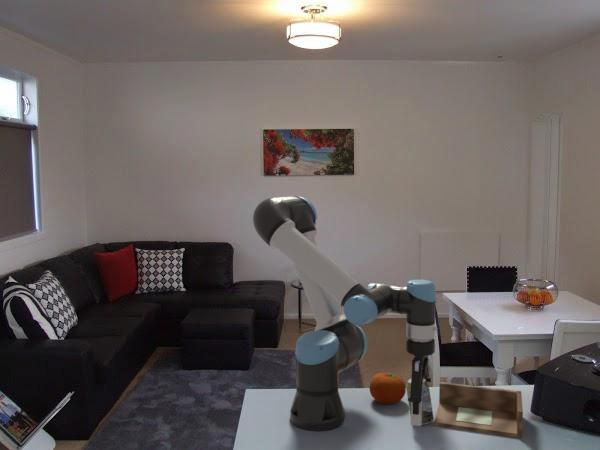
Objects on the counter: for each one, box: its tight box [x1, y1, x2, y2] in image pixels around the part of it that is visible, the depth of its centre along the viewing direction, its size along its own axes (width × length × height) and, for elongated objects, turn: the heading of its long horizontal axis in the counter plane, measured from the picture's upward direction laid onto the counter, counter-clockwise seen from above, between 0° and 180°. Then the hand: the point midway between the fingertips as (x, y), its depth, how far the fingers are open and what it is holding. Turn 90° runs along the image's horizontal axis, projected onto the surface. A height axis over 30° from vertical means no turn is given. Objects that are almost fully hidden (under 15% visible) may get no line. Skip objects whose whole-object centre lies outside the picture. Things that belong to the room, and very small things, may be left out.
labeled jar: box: [405, 378, 434, 426], centre depth 152 cm, size 6×7×12 cm
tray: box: [433, 381, 524, 439], centre depth 153 cm, size 22×14×7 cm, turn 70°
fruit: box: [369, 372, 407, 405], centre depth 166 cm, size 11×10×8 cm
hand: (419, 414), depth 152 cm, fingers open, 12 cm apart
